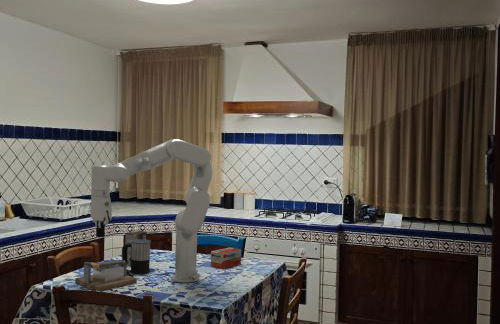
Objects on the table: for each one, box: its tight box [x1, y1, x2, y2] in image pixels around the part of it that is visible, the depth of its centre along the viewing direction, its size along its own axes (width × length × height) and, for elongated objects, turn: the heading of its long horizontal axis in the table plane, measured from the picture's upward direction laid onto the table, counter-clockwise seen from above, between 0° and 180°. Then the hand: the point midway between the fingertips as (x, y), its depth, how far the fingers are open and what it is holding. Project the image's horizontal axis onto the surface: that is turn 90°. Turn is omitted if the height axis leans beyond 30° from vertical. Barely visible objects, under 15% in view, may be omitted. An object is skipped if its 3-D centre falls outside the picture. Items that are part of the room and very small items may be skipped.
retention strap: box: [90, 259, 126, 269], centre depth 214 cm, size 17×6×1 cm, turn 137°
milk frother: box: [121, 239, 152, 277], centre depth 231 cm, size 14×16×15 cm
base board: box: [74, 274, 138, 292], centre depth 214 cm, size 18×19×2 cm
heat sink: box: [83, 261, 128, 283], centre depth 213 cm, size 10×18×8 cm, turn 137°
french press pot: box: [124, 230, 148, 266], centre depth 249 cm, size 9×6×16 cm
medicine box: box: [210, 247, 242, 270], centre depth 252 cm, size 15×8×8 cm, turn 142°
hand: (100, 236), depth 211 cm, fingers closed
